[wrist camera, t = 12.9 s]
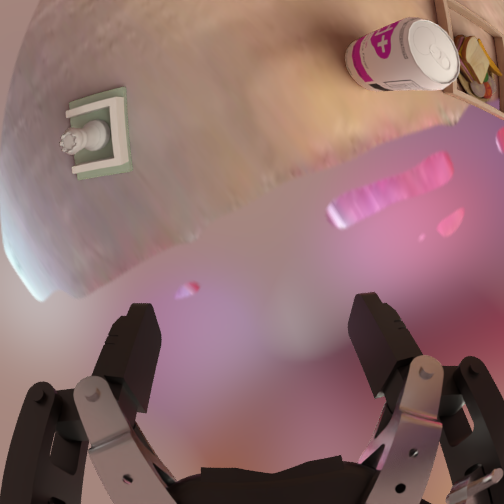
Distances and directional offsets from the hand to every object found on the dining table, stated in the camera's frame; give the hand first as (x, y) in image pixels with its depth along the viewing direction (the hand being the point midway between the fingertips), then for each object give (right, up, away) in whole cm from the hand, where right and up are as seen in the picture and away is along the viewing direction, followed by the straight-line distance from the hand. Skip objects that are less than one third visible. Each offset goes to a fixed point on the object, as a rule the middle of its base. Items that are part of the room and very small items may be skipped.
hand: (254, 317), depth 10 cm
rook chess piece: (-21, +19, +20) cm, 34 cm away
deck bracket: (-21, +19, +20) cm, 35 cm away
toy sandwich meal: (+38, +35, +16) cm, 54 cm away
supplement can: (+16, +28, +18) cm, 37 cm away
